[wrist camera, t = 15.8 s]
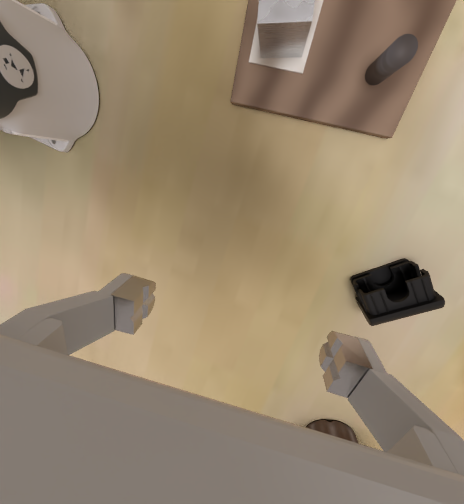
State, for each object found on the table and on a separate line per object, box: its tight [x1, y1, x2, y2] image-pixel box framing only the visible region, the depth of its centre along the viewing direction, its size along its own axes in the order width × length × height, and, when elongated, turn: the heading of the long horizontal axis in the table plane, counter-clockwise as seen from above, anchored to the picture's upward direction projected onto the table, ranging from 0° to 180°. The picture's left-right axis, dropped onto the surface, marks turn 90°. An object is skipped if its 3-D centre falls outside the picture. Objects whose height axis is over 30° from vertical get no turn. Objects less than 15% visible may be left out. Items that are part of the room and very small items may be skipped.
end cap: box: [350, 258, 445, 326], centre depth 35 cm, size 10×7×7 cm
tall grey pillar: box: [257, 0, 315, 58], centre depth 22 cm, size 5×5×8 cm
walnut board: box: [231, 0, 456, 139], centre depth 24 cm, size 22×14×8 cm, turn 78°
